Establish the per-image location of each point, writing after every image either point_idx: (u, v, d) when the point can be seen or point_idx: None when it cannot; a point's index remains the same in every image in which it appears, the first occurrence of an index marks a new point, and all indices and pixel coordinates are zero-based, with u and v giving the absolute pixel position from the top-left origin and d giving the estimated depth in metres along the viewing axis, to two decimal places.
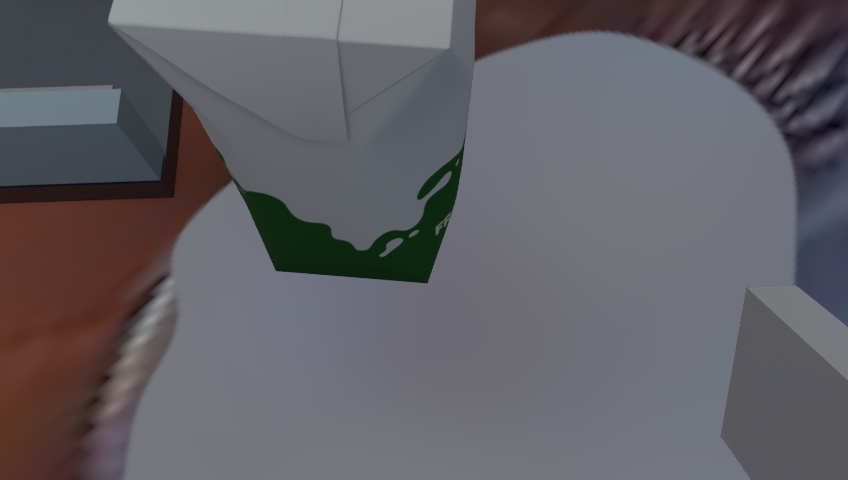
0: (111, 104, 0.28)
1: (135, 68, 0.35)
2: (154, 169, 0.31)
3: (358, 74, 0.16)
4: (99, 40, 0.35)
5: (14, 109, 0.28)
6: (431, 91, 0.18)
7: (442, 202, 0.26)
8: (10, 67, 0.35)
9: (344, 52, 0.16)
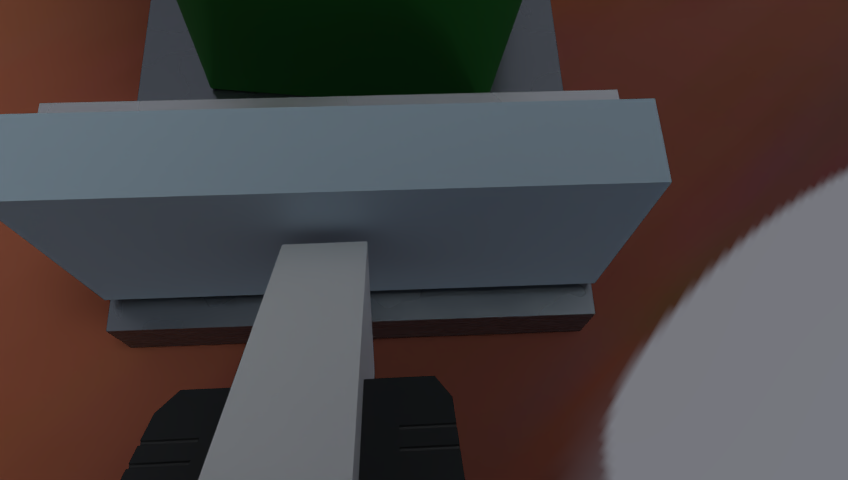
0: (645, 137, 0.12)
1: None
2: (603, 264, 0.15)
3: None
4: None
5: (416, 145, 0.11)
6: None
7: None
8: None
9: None
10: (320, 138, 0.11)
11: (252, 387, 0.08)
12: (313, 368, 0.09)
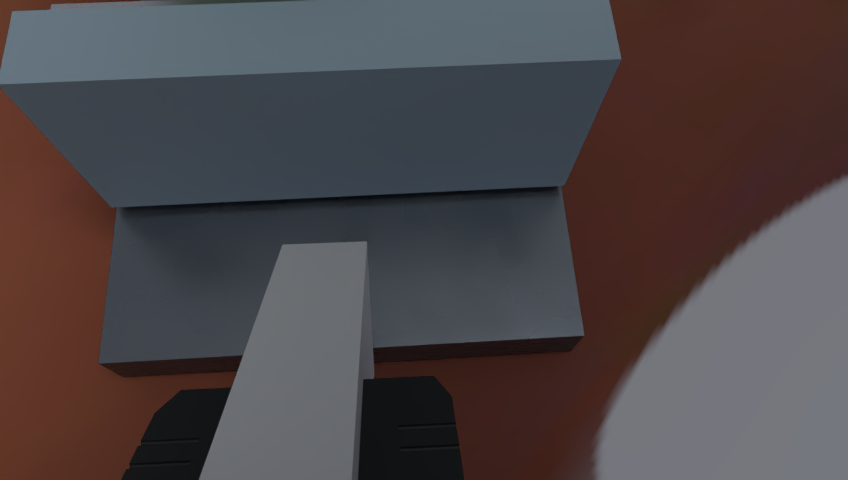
0: (598, 21, 0.13)
1: None
2: (570, 164, 0.16)
3: None
4: None
5: (392, 32, 0.13)
6: None
7: None
8: None
9: None
10: (305, 27, 0.13)
11: (253, 387, 0.08)
12: (312, 368, 0.09)
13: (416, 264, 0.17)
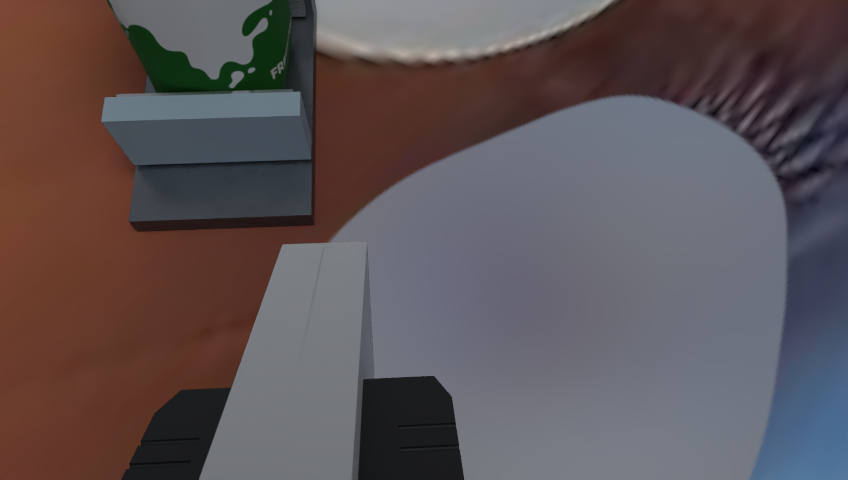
0: (295, 102, 0.39)
1: None
2: (309, 150, 0.43)
3: None
4: None
5: (227, 105, 0.39)
6: None
7: (268, 46, 0.39)
8: None
9: None
10: (199, 103, 0.39)
11: (253, 387, 0.08)
12: (312, 368, 0.09)
13: (250, 188, 0.43)
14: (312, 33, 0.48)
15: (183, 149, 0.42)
